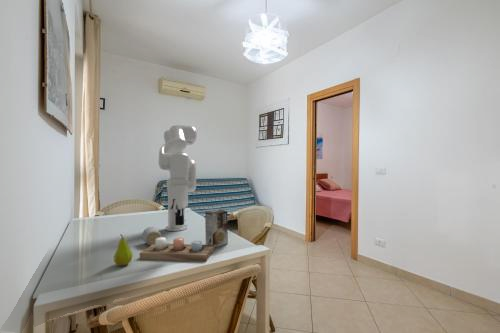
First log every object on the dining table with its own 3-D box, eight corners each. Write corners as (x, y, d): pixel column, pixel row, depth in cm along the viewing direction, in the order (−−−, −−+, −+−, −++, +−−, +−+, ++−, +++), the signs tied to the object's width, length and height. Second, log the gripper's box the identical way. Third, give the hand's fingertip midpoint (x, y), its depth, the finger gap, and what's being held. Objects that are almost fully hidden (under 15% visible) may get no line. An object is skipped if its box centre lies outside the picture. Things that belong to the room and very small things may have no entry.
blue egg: (193, 249, 100) (193, 240, 100) (203, 250, 99) (203, 240, 99) (189, 253, 95) (189, 244, 95) (200, 254, 95) (200, 244, 95)
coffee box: (220, 240, 116) (220, 209, 116) (228, 243, 111) (228, 210, 112) (204, 245, 110) (204, 211, 110) (212, 248, 105) (212, 213, 105)
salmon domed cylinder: (176, 246, 100) (175, 237, 101) (185, 247, 100) (185, 237, 100) (171, 250, 96) (171, 240, 96) (181, 250, 96) (181, 241, 96)
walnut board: (155, 248, 106) (155, 243, 106) (214, 250, 102) (214, 244, 102) (139, 258, 94) (139, 252, 94) (206, 261, 91) (206, 255, 91)
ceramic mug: (146, 248, 106) (146, 231, 106) (141, 243, 113) (141, 227, 113) (169, 243, 113) (169, 228, 113) (163, 239, 119) (163, 224, 119)
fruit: (136, 262, 90) (136, 231, 90) (124, 269, 84) (124, 236, 84) (122, 260, 92) (122, 230, 92) (109, 267, 86) (109, 235, 86)
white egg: (158, 246, 101) (158, 237, 101) (168, 246, 101) (168, 237, 101) (153, 249, 97) (153, 240, 97) (163, 250, 97) (163, 240, 97)
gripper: (178, 180, 106) (178, 220, 106) (162, 183, 91) (162, 229, 91) (193, 180, 105) (194, 220, 105) (180, 183, 90) (181, 229, 90)
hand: (179, 224), depth 98 cm, fingers closed
